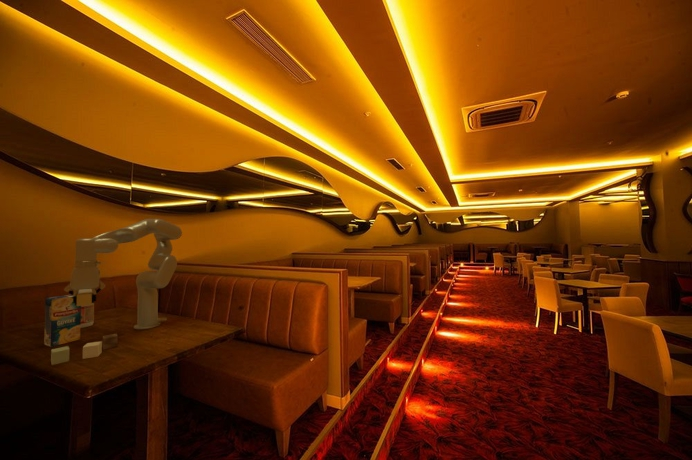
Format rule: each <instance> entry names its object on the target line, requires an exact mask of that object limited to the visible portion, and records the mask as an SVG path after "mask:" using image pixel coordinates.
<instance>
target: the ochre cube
mask: <svg viewBox="0 0 692 460" xmlns="http://www.w3.org/2000/svg"><path fill="white" fill-rule="evenodd" d="M92 294H93V292H90V293H79V294H78V295H77V306H84V305H91V304H92Z"/></svg>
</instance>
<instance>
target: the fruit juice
mask: <svg viewBox="0 0 692 460" xmlns="http://www.w3.org/2000/svg"><path fill="white" fill-rule="evenodd" d="M90 292H92V289H81V290H79V292H78V294H79V293H90ZM94 321H95V302H94V303H92V304H91V305H84V306H81V327H80V329H83V328H87V327H92V326H93V325H94V323H95V322H94Z"/></svg>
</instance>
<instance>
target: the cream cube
mask: <svg viewBox="0 0 692 460" xmlns="http://www.w3.org/2000/svg"><path fill="white" fill-rule="evenodd" d="M102 350H103V340H101V341H93V342H87V343H86V344H84V345H83V346H82V360H84V359H85V360H86V359H91V358H98V357H99V356H100V355H101V354H102V352H103V351H102Z"/></svg>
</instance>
